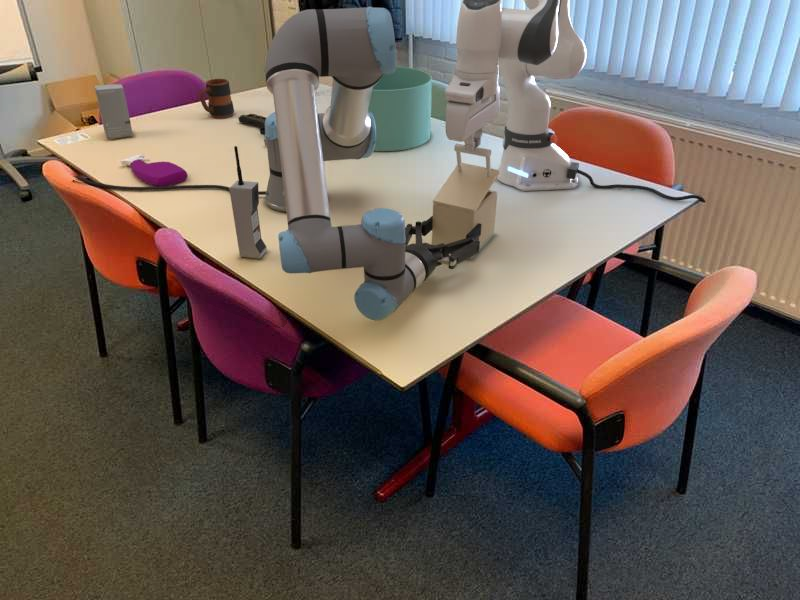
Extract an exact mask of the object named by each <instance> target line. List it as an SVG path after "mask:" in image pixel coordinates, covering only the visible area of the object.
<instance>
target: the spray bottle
mask: <svg viewBox="0 0 800 600" xmlns="http://www.w3.org/2000/svg"><path fill="white" fill-rule="evenodd" d="M145 161H149V163H147V162H145ZM120 163H121V166H129V167H130V169H131V172H132V173H133V175H134V176H135V177H136V178H137V179H139V180H141V181H142V182H143V183H145V184H148V185H150V186H151V187H158V186H174V185H176V184H178V183H182V182H184V181H186V180H187V178H188V172H187V171H186V170H185V169H184V168H183V167H181V166H180V165H177V164H175V163H174V162H170V161H154V162H150V158H146V157H145V154H144V153H142V154H136V155H133V156H129V157H127V158H124V159H121V160H120Z"/></svg>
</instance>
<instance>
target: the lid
mask: <svg viewBox="0 0 800 600" xmlns="http://www.w3.org/2000/svg"><path fill="white" fill-rule="evenodd" d="M453 150H454V152H455V155H456V166H455V168H454V169H453V170H452V172H451V173H450V175H449V177H448V178H447V179H446V181H445V182H444V183H443V185H442V186H441V188H440V190H439V191H438V192H437V194H436V196H434V198H433V200H432V205H433V204H436V205H441V206H445V207H449V208H454V209H458V210H462V211H467V212H471V213H475V211H476V210H477V208H478V207H479V205H480V203H481V202H482V200H483V199H484V197H485V196H486V194H487V192H488V191H489V190H491V188H492V186H493V184H494V183H495V182H496V180H497V176H498V175H499V170H498V169H496V168H495V169H494V168H492V167H491V157H492V149H488V148H483V147H479V146H478V147H475V149H474V150H473V151H472V152H468V151H465V144H463V143H455V145H454V147H453ZM461 153H463V154H467V155H474V156H479V157H484V158H485V165H486V166H480V165H475V164H469V163H464V162H462V155H461Z"/></svg>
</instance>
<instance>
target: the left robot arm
mask: <svg viewBox="0 0 800 600" xmlns="http://www.w3.org/2000/svg"><path fill="white" fill-rule="evenodd" d="M394 30H395V29H394V24H393V18H392V14H391V12H390V11H389V10H388V9H387V8H385V7H373V6H367V7H350V8H349V7H347V8H345V7H344V8H323V9H315V8H311V9H310V8H309V9H305V10H301V11H299V12H297V13H295V14H293V15H291V16H290V17H289V18H288V19H285V21H284V22H283V24H282V25H281V26H280V27H279V28H278V29H277V31H276V33H275V35H274V36H273V38H272V40H271V42H270V44H269V47H268V52H267V54H266V59H265V65H264V74H265V85H266V89H267V90H268V91H269V92H270V93H271V94H272V98H273V104H274V112H272V113H270V114H269V115H268V116H267V117H266V120H265V135H264V139H266V142H267V146H266V149H267V160H268V167H269V168H268V169H269V177H268V182H267V186H266V190H263V191H259V190H258V191H259V196H264V195H265V204H266V206H267V207H269V208H270V209H272V210H275V211H277V212H282V213H286V221H287V229H286V230H285V231H283V230H282V231H280V232H279V233H278V235H277V236H278V237H277V238H278V245H279V246H278V247H279V256H280V265H281V269H282V270H283V272H285V274H313V273H319V272H326V271H334V270H347V269H356V268H363V278H364V281H363V282H362V283H361V284H360V285H359V286H358V288H357V289H356V291H355V292H354V297H353V299H354V300H353V301H354V304H355V306H356V309H357V310H358V312H359V313H360V314H361V315H362V316H363V317H365V318H367V319H369V320H372V321H383V320H385V319H386V318H387V317H389V316H390V315H392V313H395V312H396V311H397V309H398V308H399V307H400V306H401V305H402V304H403V303H404V302H405V301H406V300H407V299H408V298H409V297H410V296H411V294H412V293H414V292H415V291H416V290H417V289H418V288H419V287H420V286H421V285H422V284H423V282H425V281H426V280H427V279H428V278H429V277H430V276H431V275H432V274H433V273H434V271H435V269H436V268H437V267H440V266H442V265H447V266H448V269H449V270H454V269H455V268H456V267H457V265H459V264H462V263H463V262H464V261H466V260H467V261H468V260H469V259H468V258H470V257H472V256H474V255H475V256H476V255H477V254H480V251H479V249H480V241H479V236H480V235H481V226H482V224H480V223H478V224H477V225H476V226H475V227H474V228H473V229H472V230H471V231H470V232H469V233H468V234H467V235H466V238H465V239H462V240H459V241H455V242H452V243H449V244H444V243H442V244H438V245H432V243H429V242H423V237H426V236H427V235H429V234H430V233H431V232H432V220H433V215H431V216H429V218H428V219H426V220H423V221H415V225H413V224H412V223H407V224H405V223H406V222H405V218H404V216H403V215H402V214H401V212H399V211H397V210H395V209H393V208H388V207H387V208H386V207H378V208H374V209H373V210H368V211H366V212H365V213H364V214H363V215H362V219H361V223H360V224H359V223H358V224H349V225H339V226H332V222H331V212H330V204H329V195H328V187H327V180H326V179H327V178H326V170H325V163H324V162H330V161H343V160H345V161H346V160H362V159H364V158H365V159H366V158H369V157H371V156H372V155H373V154H374V152H375V151H374V148H375V140H376V126H375V120H374V117H373V115H372V113H371V112H370V111H368V108H369V103H370V98H371V94H372V89H373V86H374V85H376V84H377V83H378V82H379V81H380V79H381V78H382V76H383V74H385V75H388V74H389V73H393V72H395V70H396V66H397V48H396V37H395V31H394ZM320 77H321V78H324V77H331V78H332V85H331V95H330V96H331V97H330V105H329V106H328V107H327V108H326V110H325V112H322V113H321V112H320V113H318V105H317V96H316V91H317V90H318V88H319V86H320ZM74 177H76V178H78V179H77V180H80V181H82V182H84V183H86V184H88V185H93V186H97V187H102V188H107V189H112V190H123V191H161V190H162V191H163V190H164V191H165V190H183V189H184V190H185V189H218V190H225V191H228V192H230V190H229V188H230V187H229V186H226V185H220V184H219V185H218V184H187V185H186V184H182V185H170V186H158V187H155V186H123V185H113V184H107V183H102V182H98V181H93V180H89V179H87V178H85V177H83V176H79V175H75V176H74ZM413 236H415V237H414V238H415V243H410V241H411V239H412V237H413ZM409 243H410V244H409ZM440 249H441V250H440ZM475 256H474V257H475Z"/></svg>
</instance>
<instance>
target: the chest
mask: <svg viewBox="0 0 800 600" xmlns="http://www.w3.org/2000/svg"><path fill="white" fill-rule="evenodd" d="M497 201H498V191H496V190H491V189H489V191H488V192H487V194H486V196H485V197H484V199H483V200H482V202H481V203H480V205H479V207H478V208H477V210H476V211H475V213H471V212H467V211H462V210H458V209H454V208H449V207H445V206H441V205H436V204H433V203H432V216H433V220H432V230H431V245H438V244H442V243H444V244H449V243H452V242H455V241H459V240H462V239H465V238H466V235H467V234H468V233H469V232H470V231H471V230H472V229H473V228H474V227H475V226H476V225H477V224H478V223H480V224H482V226H481V235H480V236H479V241H480V249H479V252H480V251H481V250H482V249H483V248H484V247H485V246H486V245H487V243H488V242H489V241H490V240H492V238H493V237H494V235H495V223H496V215H497V213H496V212H497V203H498V202H497ZM440 250H441V249H440ZM475 256H476V255H474V256H472V257H470V258H468V259H467V260H469V261H472V260H473V258H475Z"/></svg>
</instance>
